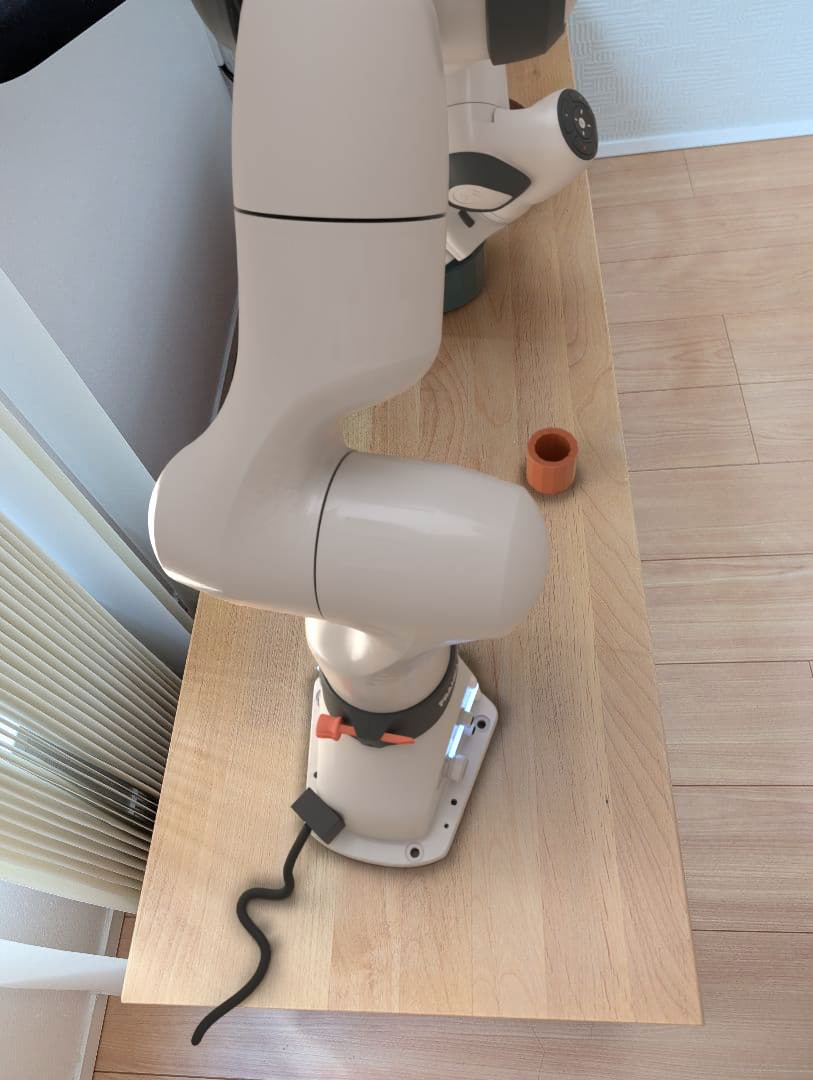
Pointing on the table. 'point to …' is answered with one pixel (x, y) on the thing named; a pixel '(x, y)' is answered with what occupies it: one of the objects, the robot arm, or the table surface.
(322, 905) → the table surface
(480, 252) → the bowl
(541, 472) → the holder
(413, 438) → the table surface
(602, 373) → the table surface
